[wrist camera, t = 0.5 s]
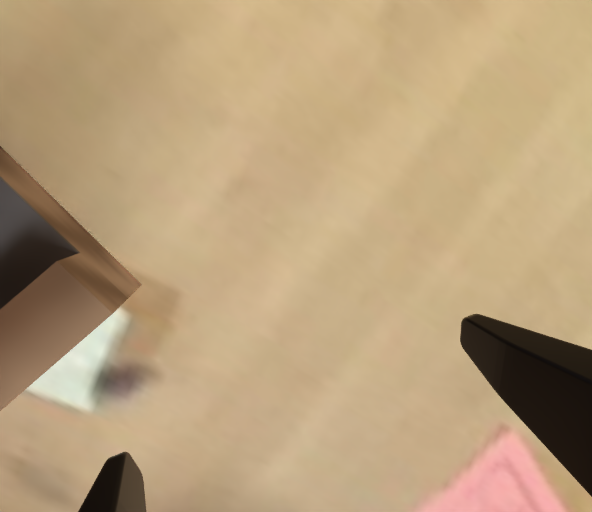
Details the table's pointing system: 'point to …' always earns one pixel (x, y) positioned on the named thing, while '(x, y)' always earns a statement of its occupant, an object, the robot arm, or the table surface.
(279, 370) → the table surface
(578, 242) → the table surface
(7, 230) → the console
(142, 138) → the table surface
